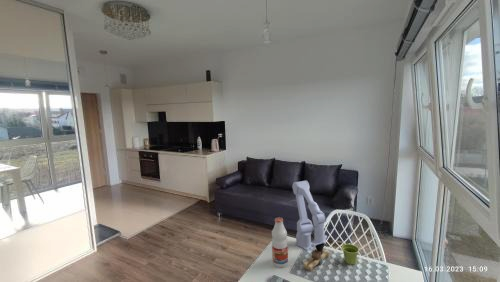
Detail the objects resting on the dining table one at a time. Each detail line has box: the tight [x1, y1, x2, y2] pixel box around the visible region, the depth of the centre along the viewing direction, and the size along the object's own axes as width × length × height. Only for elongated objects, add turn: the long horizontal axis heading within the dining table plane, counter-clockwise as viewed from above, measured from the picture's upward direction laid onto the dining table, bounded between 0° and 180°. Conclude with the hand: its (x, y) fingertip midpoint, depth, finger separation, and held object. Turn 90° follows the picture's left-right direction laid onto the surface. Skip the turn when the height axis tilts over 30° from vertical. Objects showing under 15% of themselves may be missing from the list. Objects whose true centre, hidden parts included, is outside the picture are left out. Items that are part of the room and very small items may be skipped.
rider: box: [311, 248, 321, 260], centre depth 139 cm, size 4×4×5 cm
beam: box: [302, 249, 330, 273], centre depth 139 cm, size 20×6×3 cm, turn 132°
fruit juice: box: [271, 217, 289, 269], centre depth 138 cm, size 9×9×28 cm
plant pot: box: [341, 243, 360, 266], centre depth 138 cm, size 9×9×9 cm
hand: (319, 253), depth 141 cm, fingers closed
